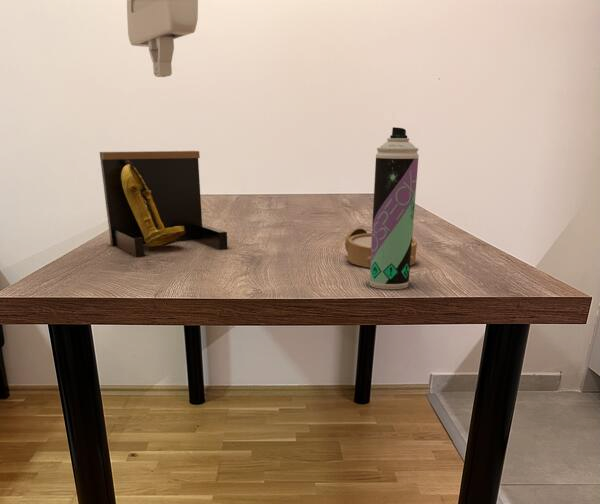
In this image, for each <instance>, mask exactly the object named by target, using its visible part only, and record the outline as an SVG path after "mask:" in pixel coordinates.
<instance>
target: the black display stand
mask: <svg viewBox="0 0 600 504" xmlns="http://www.w3.org/2000/svg"><path fill="white" fill-rule="evenodd" d="M200 154H201V153H200V151H199V150H165V151H164V150H156V151H155V150H152V151H151V150H149V151H148V150H146V151H145V150H144V151H143V150H140V151H99V159H100V167H101V175H102V182H103V192H104V200H105V209H106V217H107V224H108V225H107V227H108V233H109V242H110V246H112V247H117V248H119V249H121V250H123V251H125V252H126V253H129V254H131V255H132V256H134V257H136V258H137V257H138V258H139V257H145V245H146V242H145V241H144V236H143V234H142V231H141V229H140V227H139V225H138V223H137V220H136V218H135V216H134V214H133V212H132V209H131V207H130V205H129V203H128V201H127V198H126V195H125V193H124V190H123V186H122V180H121V173H122V170H123V168H124V166H126V162H125V159H129V160H130V162H132V165H133V167H135V168H136V170H137V171H138V174H140V176H141V177H142V179H143V180H144V182H145V185H146V187H147V188H148V190H151V197H152V198H153V199H152V200H153V202H154V204H155V206H156V209H157V211H158V214H159V217H160V220H161V222H162V223H163V225H164V228H172V227H176V226H184V230H185V232H186V233H185V234H184V236H182V237H179V238H178V241H177V242H182V241H196V242H199V243H202V244H203V245H206V246H210V247H212V248H215V249H217V250H228V248H229V247H228V232H227V231H225V230H222V229H220V228H215V227H212V226H210V225H206V224H203V215H202V214H203V213H202V199H201V198H202V197H201V183H200V181H201V180H200V163H199V159H200V158H201V157H200V156H201V155H200Z"/></svg>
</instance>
